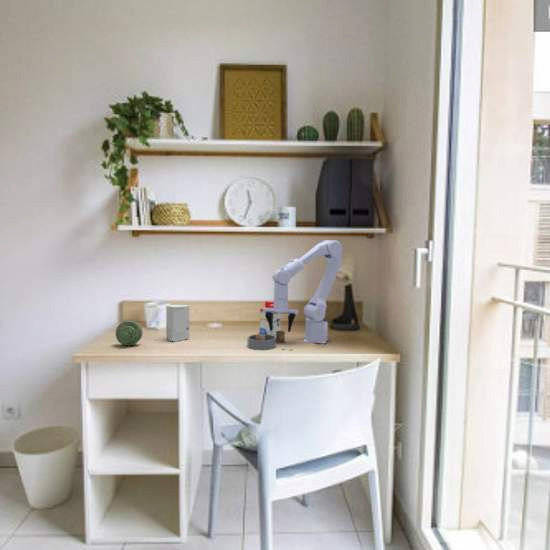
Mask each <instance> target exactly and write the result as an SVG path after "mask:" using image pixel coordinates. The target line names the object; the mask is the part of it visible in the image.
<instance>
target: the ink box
mask: <svg viewBox="0 0 550 550" xmlns="http://www.w3.org/2000/svg"><path fill="white" fill-rule="evenodd" d="M263 308H274V301H265V302H264V307H262V308H260V310H259V334H267V335H272V336H275V337H276V331H281V321H282V319H281V316H282V315H281V314H276V313H273V330H272V331H270V327H269V323H268V321H267V318H266V317H265V314H266V313H263Z"/></svg>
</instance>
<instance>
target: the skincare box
mask: <svg viewBox="0 0 550 550" xmlns="http://www.w3.org/2000/svg"><path fill="white" fill-rule="evenodd" d="M165 309H166V311H165V312H166V316H165V317H166V319H165V321H166V324H165V326H166V328H165V329H166V333H165V335H166V337H165V338H166V340H167V341H169V342H172V341H173V342H172V343H174V341H175V342H180V341H179V340H181V341H185V339H187V340H189V339H190V305H186V304H171V305H166V308H165Z"/></svg>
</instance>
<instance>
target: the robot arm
mask: <svg viewBox="0 0 550 550" xmlns="http://www.w3.org/2000/svg"><path fill="white" fill-rule="evenodd" d="M343 250H344V248H343V246H342V244H341V242H340V241H338V240H336V239H334V240H331V239H330V240H328V239H323V240H322V241H321V242H319V243H317V244H316V245H314V246H313V247H312V248H311V249H309V250H308V251H307V252H306V253H304V255H302V256H301V257H299V258H290V260H289V262H288V263H286V264H285V265H282V266H281V267H280V269H276V270H275V271H274V273H273V274H272V276H271V277H272V281H273V282H274V284H273V285H274V287H273V289H274V290H273V302H274V304H273V306H274V308H265V307H262V308H263V313H266V314H265V317H266V318H267V321H268V323H269V327H270V331H272V330H273V313H276V314H282V315H288V316H287V320H288V323H287V324H288V325H287V332H288V333H290V332H291V331H292V326H293V323H294V320H295V318H296V316H298V315H299V309H295V308H294V309H292V308H289V307H288V305H289V302H288V300H289V298H288V297H289V295H288V294H289V283H290V282H291V279H293V278H294V277H295V276H296V275H297V274H299V273H300V272H301V271H303V270H304V266H305V265H307V264H309V263H310V262H311V261H313V260H314V259H316V258H317V257H318V256H324V257H325V260H326V261H327V266H326V268H325V269H324V270H325V271H324V273H323V275H322V277H321V279H320V282H319V285H318V287H317V289H316V291H315V293H314V296H313V297H312V298H310V299H309V302H308V303H307V304H305V305H304V308H303V314H304V315H305V336H304V339H303V342H307V343H314V344H327V341H328V336H329V334H328V321H325V320H324V319H325V318H326V309H327V306H328V305H327V302H326V301H327V299H328V296H329V295H330V292H331V290H332V288H333V285H334V283H335V281H336V279H337V276H338V274H339V272H340V269H341V267H342V264H343Z"/></svg>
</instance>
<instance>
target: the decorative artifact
mask: <svg viewBox="0 0 550 550" xmlns="http://www.w3.org/2000/svg"><path fill="white" fill-rule="evenodd" d="M115 329H116V330H115V338H116V340H117V342H118V343H120V344H121V345H123V346H125V345H132V346H135V345H136V344H137V343H138V342H139V341H140V340H141V339H142V338H143V329H142V326H141V325H140V323H138V322H137V321H135V320H131V319H128V320H125V321H123V322H121V323H120V324H118V326H117V327H116V328H115Z"/></svg>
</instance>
